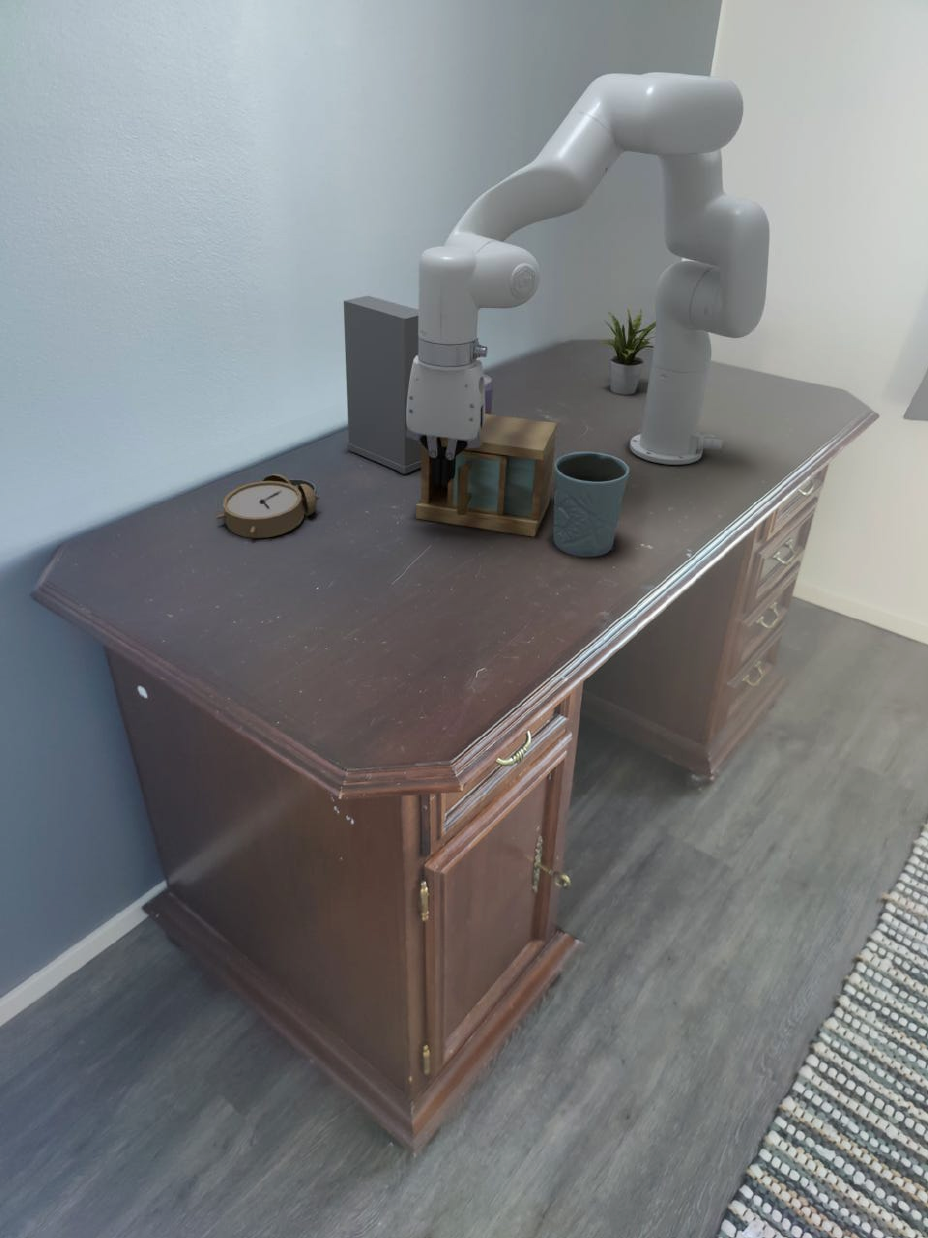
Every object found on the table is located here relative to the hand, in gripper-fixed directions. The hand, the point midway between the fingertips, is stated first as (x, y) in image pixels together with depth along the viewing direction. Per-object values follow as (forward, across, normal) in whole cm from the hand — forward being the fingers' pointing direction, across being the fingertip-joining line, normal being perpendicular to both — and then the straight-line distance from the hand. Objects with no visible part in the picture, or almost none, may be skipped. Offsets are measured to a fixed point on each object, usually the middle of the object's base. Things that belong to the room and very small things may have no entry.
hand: (443, 481), depth 125 cm
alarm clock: (+8, +25, +3) cm, 26 cm away
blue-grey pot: (+8, -20, -3) cm, 22 cm away
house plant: (+8, -19, -71) cm, 74 cm away
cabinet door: (+6, -4, -2) cm, 8 cm away
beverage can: (+8, +2, -24) cm, 25 cm away
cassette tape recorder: (+8, +16, -23) cm, 29 cm away
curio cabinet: (+8, -4, -9) cm, 13 cm away
